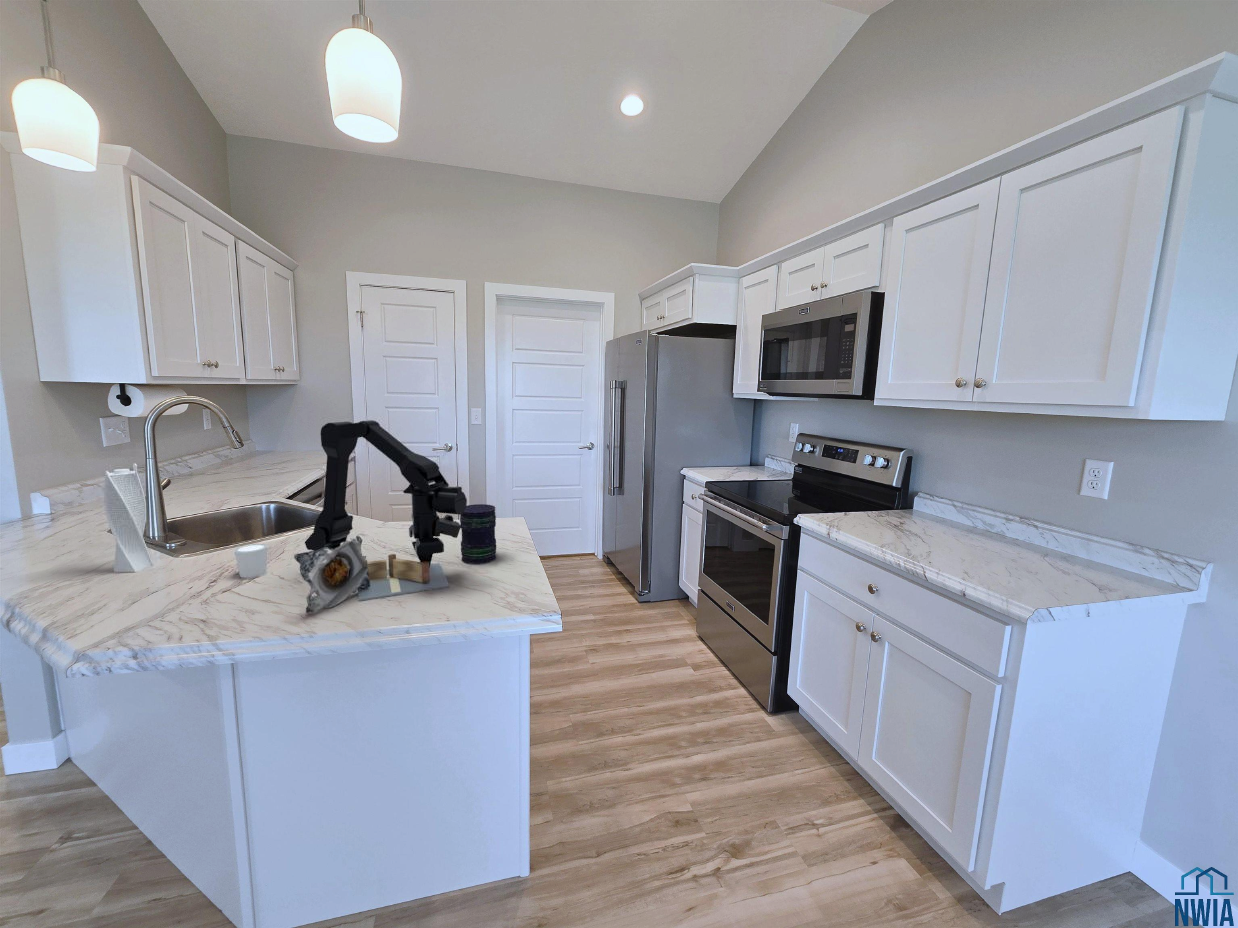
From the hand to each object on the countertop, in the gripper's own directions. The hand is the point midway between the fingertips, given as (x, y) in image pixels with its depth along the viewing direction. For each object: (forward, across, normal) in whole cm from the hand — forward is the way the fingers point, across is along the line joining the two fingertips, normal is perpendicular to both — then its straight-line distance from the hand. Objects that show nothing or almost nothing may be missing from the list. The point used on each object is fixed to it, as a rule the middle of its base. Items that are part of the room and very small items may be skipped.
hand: (426, 570), depth 128 cm
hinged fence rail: (+2, 0, +4) cm, 4 cm away
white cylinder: (+3, +22, +40) cm, 45 cm away
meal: (+2, -6, +20) cm, 21 cm away
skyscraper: (+3, +40, +67) cm, 78 cm away
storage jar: (+3, +10, -15) cm, 19 cm away
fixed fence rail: (+2, +4, +12) cm, 13 cm away
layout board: (+2, +1, +6) cm, 6 cm away
